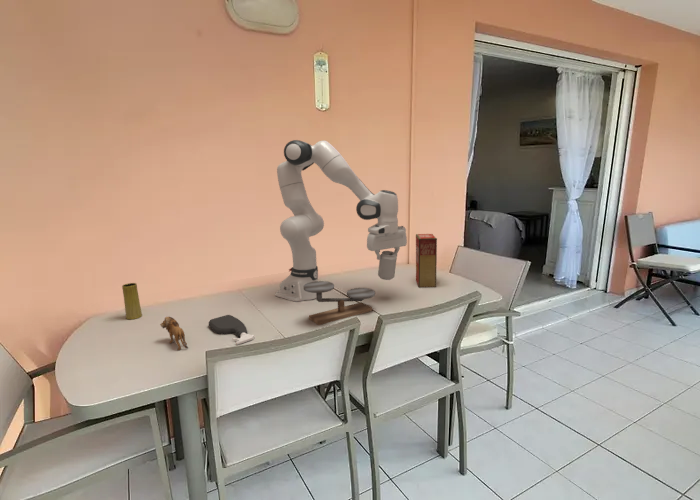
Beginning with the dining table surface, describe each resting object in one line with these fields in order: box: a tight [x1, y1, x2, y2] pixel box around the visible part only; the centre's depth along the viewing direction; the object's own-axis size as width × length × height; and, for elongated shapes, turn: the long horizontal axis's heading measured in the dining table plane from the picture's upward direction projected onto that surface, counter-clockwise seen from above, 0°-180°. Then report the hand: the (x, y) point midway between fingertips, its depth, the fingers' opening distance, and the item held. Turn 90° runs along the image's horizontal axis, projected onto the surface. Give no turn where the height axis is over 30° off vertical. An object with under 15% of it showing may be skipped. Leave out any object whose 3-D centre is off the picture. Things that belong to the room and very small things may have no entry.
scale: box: [303, 280, 376, 326], centre depth 160 cm, size 12×32×15 cm, turn 123°
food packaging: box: [415, 233, 438, 288], centre depth 197 cm, size 13×9×25 cm
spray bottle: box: [208, 314, 255, 346], centre depth 147 cm, size 3×11×24 cm
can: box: [377, 250, 398, 281], centre depth 174 cm, size 8×8×12 cm
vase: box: [121, 282, 143, 321], centre depth 163 cm, size 6×6×14 cm
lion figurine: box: [159, 316, 189, 351], centre depth 137 cm, size 15×5×9 cm, turn 50°
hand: (387, 258), depth 174 cm, fingers closed on can, 7 cm apart
